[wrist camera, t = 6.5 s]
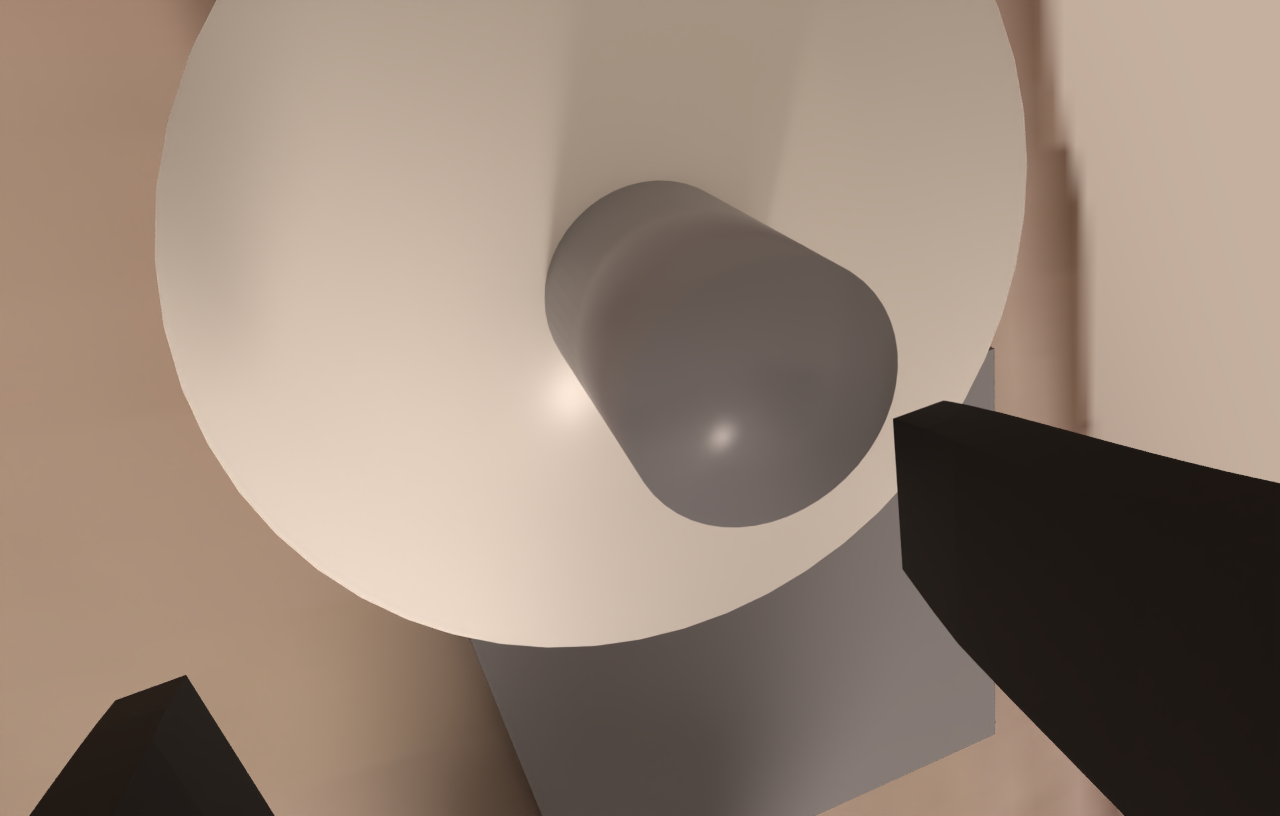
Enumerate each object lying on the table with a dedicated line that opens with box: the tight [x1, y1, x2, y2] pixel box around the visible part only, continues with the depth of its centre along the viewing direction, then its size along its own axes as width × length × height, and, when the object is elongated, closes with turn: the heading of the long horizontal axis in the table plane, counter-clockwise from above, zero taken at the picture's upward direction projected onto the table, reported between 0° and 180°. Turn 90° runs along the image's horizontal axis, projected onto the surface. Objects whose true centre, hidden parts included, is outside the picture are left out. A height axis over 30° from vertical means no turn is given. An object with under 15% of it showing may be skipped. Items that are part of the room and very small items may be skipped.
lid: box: [155, 0, 1027, 648], centre depth 11 cm, size 12×12×4 cm
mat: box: [470, 347, 995, 816], centre depth 24 cm, size 14×14×1 cm
